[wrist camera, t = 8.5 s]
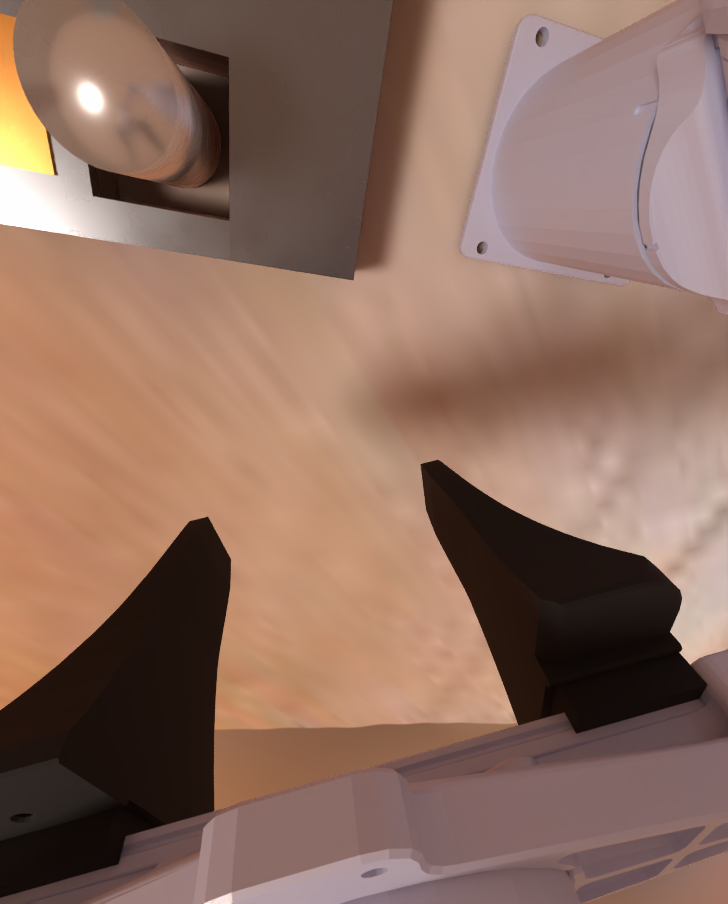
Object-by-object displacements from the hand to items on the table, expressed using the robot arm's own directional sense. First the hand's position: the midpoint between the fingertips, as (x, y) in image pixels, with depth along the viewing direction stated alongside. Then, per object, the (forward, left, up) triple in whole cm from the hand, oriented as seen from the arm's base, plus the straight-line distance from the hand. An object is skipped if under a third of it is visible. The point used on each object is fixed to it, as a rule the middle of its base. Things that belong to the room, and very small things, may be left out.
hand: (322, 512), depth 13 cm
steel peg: (+6, -10, -9) cm, 15 cm away
